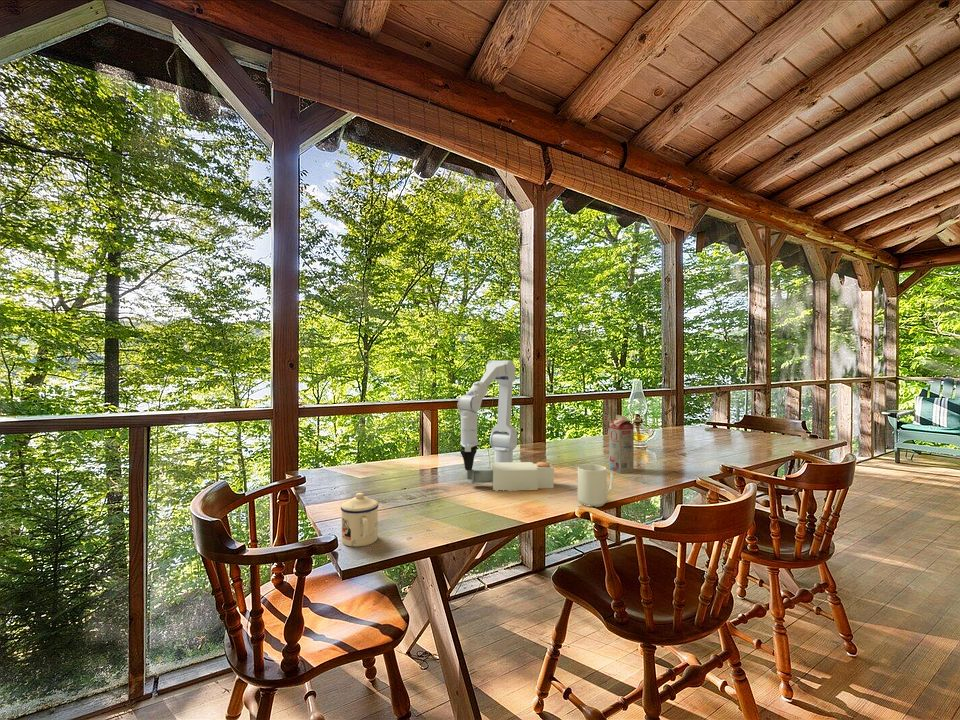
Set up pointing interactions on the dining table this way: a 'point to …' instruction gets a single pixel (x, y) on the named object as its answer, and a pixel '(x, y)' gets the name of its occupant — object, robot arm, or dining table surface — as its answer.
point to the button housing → (521, 476)
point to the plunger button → (543, 464)
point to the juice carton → (621, 445)
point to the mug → (593, 484)
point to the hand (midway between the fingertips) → (469, 468)
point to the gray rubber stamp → (480, 476)
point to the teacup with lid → (359, 521)
